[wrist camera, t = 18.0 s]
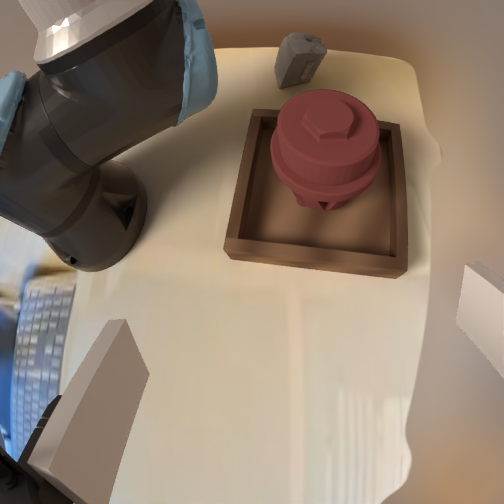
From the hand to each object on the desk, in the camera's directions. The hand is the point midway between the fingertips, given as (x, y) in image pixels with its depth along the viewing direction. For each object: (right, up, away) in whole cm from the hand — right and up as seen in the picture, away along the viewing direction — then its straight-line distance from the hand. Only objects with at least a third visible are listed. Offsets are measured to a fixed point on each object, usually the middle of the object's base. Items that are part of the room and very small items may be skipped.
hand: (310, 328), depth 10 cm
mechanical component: (+6, +10, +23) cm, 25 cm away
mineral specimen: (+5, +29, +30) cm, 42 cm away
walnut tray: (+6, +9, +24) cm, 26 cm away
